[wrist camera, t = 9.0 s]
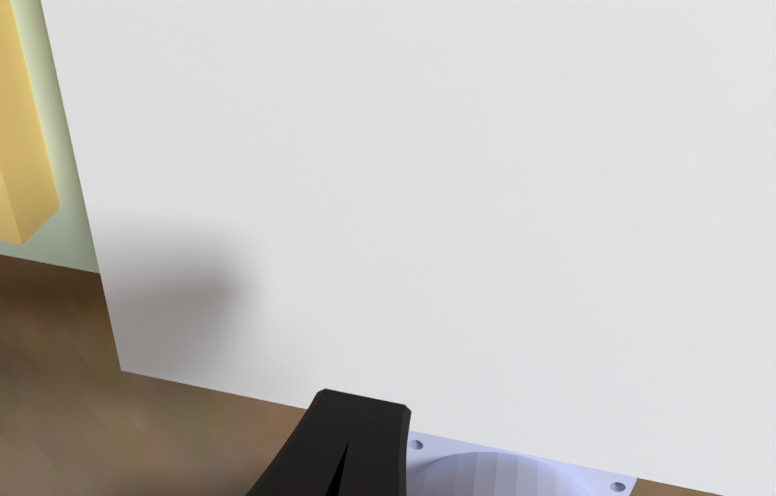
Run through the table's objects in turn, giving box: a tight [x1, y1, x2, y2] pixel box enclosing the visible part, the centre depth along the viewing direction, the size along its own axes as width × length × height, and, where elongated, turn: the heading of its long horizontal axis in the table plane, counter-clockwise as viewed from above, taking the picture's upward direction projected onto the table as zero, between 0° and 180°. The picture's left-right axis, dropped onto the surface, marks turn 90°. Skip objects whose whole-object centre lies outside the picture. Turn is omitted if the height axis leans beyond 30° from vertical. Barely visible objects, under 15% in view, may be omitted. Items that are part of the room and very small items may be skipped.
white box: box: [41, 0, 776, 496], centre depth 17 cm, size 14×22×4 cm, turn 85°
